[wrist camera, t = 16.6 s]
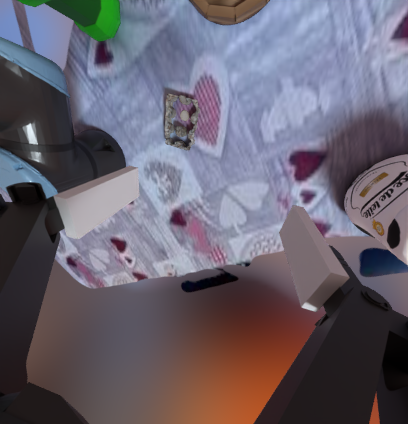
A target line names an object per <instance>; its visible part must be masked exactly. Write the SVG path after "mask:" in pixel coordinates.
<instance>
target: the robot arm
mask: <svg viewBox="0 0 408 424" xmlns="http://www.w3.org/2000/svg"><path fill="white" fill-rule="evenodd" d="M69 98H70V95H69V94H68V90H67V84H66V79H65V75H64V73H63V71H62V69H61V68H60V67H59V66H58V65H57V64H56V63H54V62H53V61H51V60H49V59H47V58H45V57H43V56H41V55H39V54H37V53H35V52H33V51H31V50H29V49H26V48H24V47H22V46H20V45H18V44H15V43H13V42H10V41H8V40H6V39H4V38H1V37H0V188H2V189H3V190H4V191H5V192H7V193H8V194H9V196H10V198H11V200H12V202H5V201H4V199H3V197H2V195H1V194H0V424H89V423H88V422H87V421H86V420H85V418H84V417H83V416H82V415H81V414H80V413H79V412H78V411H77V410H76V409H74V408H73V407H72V406H71V405H70V404H69V403H68V402H67V401H66V400H65V399H64V398H63V397H61V396H60V395H58V394H55V393H53V392H51V391H48V390H46V389H44V388H41V387H39V386H36V385H34V384H32V383H30V382H29V383H28V384H27V370H26V360H27V356H28V352H29V348H30V344H31V341H32V338H33V334H34V330H35V327H36V323H37V320H38V316H39V312H40V309H41V305H42V301H43V298H44V294H45V291H46V287H47V283H48V280H49V276H50V273H51V269H52V266H53V262H54V258H55V255H56V251H57V248H58V244H59V240H60V233H59V231H61V230H62V229H64V228H65V231H66V234H67V236H68V237H72V238H75V239H80V238H81V237H83V236H84V235H85V234H87V233H88V232H90V231H91V230H92V229H94V228H95V227H97V226H98V225H100V224H101V223H102V222H104V221H105V220H107V219H108V218H109V217H111V216H112V215H114V214H115V213H116V212H118V211H119V210H121V209H122V208H123V207H125V206H126V205H128V204H129V203H131V202H132V201H133V200H135V199H136V198H138V197H139V179H138V168H137V167H133V166H128V167H126V162H125V157H124V154H123V152H122V150H121V148H120V146H119V145H118V143H117V142H116V141H115V140H114V139H113V138H112V137H111V136H110V135H108V134H107V133H105V132H103V131H100V130H86V131H83V132H81V133H79V134H77V135H75V136H74V131H73V123H72V115H71V108H70V100H69ZM279 234H280V237H281V240H282V244H283V247H284V251H285V254H286V257H287V261H288V264H289V267H290V271H291V274H292V278H293V281H294V284H295V288H296V291H297V295H298V298H299V301H300V305H301V307H302V308H306V309H309V310H312V311H315V312H317V311H318V310H319V309H320V308H321V307H322V306H324V308H325V311H326V314H325V315H324V316H323V317H322V318H321V319H320V320H319V321H318V322H317V323H316V324H315V325H316V328H315V329H314V331H313V332H312V334H311V335H310V337H309V339H308V340H307V342H306V343H305V345H304V346H303V348H302V350H301V351H300V353H299V354H298V356H297V357H296V359H295V360H294V362H293V363H292V365H291V367H290V368H289V370H288V371H287V373H286V375H285V376H284V377H283V379H282V380H281V382H280V384H279V385H278V387H277V388H276V390H275V392H274V393H273V394H272V396H271V398H270V399H269V401H268V402H267V404H266V405H265V407H264V409H263V410H262V412H261V413H260V415H259V416H258V418H257V419H256V421H255V422H254V424H369V421H370V417H371V412H372V407H373V402H374V398H375V394H376V393H377V400H378V411H379V419H380V424H408V317H406V316H404V315H402V314H400V313H398V312H396V311H394V310H392V307H391V306H390V304H389V303H388V302H387V301H386V300H385V299H384V298H383V297H382V296H381V295H380V294H378V293H377V292H376V291H374V290H372V289H370V288H368V287H366V286H363V285H362V284H361V283H360V281H359V280H358V278H357V277H356V275H355V274H354V273H353V271H352V270H351V268H350V267H348V264H347V263H346V261H344V258H343V257H342V256H341V254H340V253H339V252H338V251H337V250H336V249H335V248H333V247H332V246H330V245H328V244H327V242H326V241H325V239H324V238H323V236H322V235H321V233H320V232H319V230H318V229H317V227H316V226H315V224H314V223H313V221H312V220H311V218H310V217H309V215H308V214H307V212H306V211H305V209H304V208H303V207H300V206H296V205H293V206H292V208H291V210H290V212H289V214H288V216H287V218H286V220H285V222H284V224H283V226H282V228H281V230H280V232H279Z"/></svg>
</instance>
